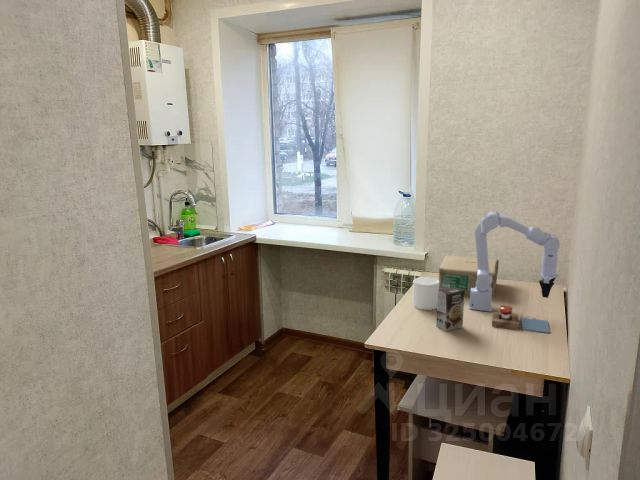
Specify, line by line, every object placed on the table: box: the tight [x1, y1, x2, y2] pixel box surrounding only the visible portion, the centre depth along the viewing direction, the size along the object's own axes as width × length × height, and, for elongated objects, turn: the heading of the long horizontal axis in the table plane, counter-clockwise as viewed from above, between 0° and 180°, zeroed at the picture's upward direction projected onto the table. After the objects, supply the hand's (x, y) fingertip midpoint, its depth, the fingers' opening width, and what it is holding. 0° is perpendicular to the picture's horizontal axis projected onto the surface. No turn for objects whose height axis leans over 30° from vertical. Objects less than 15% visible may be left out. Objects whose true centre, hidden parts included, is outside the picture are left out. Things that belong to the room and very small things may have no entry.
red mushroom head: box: [499, 304, 513, 320], centre depth 193 cm, size 5×5×7 cm
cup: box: [412, 276, 439, 311], centre depth 214 cm, size 12×12×12 cm
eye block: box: [491, 311, 520, 330], centre depth 194 cm, size 10×10×2 cm
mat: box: [520, 317, 550, 334], centre depth 191 cm, size 10×12×1 cm
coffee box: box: [435, 287, 465, 332], centre depth 190 cm, size 9×6×16 cm
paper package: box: [438, 255, 500, 299], centre depth 235 cm, size 27×26×14 cm
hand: (546, 294), depth 198 cm, fingers open, 7 cm apart
